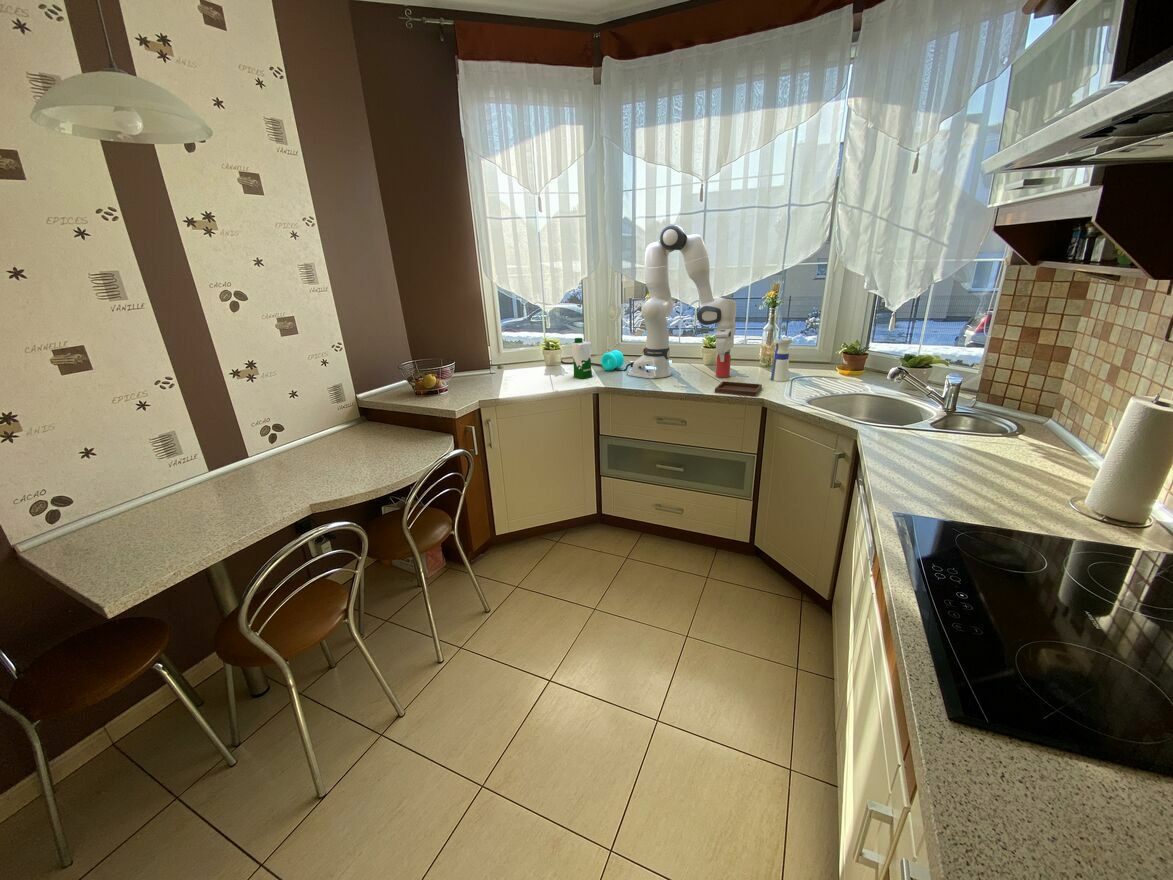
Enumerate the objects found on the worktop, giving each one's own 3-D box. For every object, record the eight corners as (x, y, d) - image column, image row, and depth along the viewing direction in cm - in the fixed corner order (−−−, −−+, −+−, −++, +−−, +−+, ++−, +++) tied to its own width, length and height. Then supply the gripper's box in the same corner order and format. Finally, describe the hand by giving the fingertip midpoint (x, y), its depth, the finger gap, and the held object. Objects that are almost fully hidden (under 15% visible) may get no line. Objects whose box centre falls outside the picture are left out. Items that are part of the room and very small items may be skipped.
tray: (714, 392, 212) (714, 388, 212) (722, 385, 223) (722, 381, 223) (755, 396, 204) (755, 392, 203) (761, 388, 215) (762, 384, 214)
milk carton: (583, 374, 257) (581, 336, 249) (595, 376, 250) (593, 338, 243) (571, 377, 251) (568, 339, 244) (582, 379, 245) (580, 340, 238)
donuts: (625, 368, 265) (625, 350, 261) (615, 372, 258) (614, 353, 254) (610, 366, 271) (610, 348, 267) (600, 370, 264) (599, 352, 260)
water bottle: (766, 377, 232) (771, 325, 223) (783, 376, 233) (788, 324, 224) (774, 382, 224) (779, 328, 215) (791, 380, 225) (797, 327, 216)
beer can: (730, 378, 235) (731, 353, 230) (716, 378, 236) (717, 354, 232) (729, 374, 241) (730, 351, 236) (715, 374, 242) (716, 351, 238)
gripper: (724, 327, 240) (723, 355, 245) (713, 334, 224) (712, 363, 229) (737, 328, 237) (736, 355, 242) (727, 334, 221) (726, 364, 226)
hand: (724, 359), depth 235 cm, fingers open, 8 cm apart
